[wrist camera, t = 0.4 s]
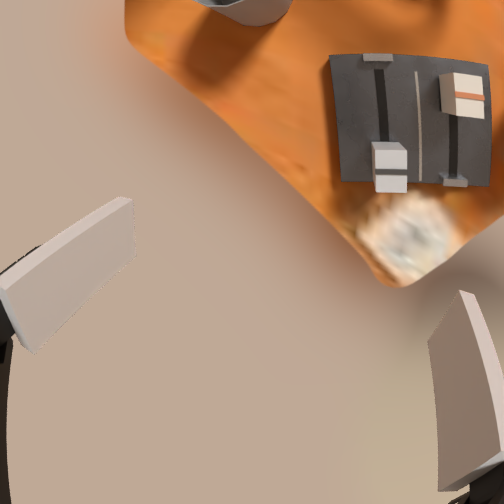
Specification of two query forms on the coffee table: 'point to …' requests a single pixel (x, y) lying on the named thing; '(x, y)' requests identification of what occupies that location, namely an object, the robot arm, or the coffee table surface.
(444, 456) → the robot arm
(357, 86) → the console
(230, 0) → the cup
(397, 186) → the block
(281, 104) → the coffee table surface
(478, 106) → the block
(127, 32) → the coffee table surface
